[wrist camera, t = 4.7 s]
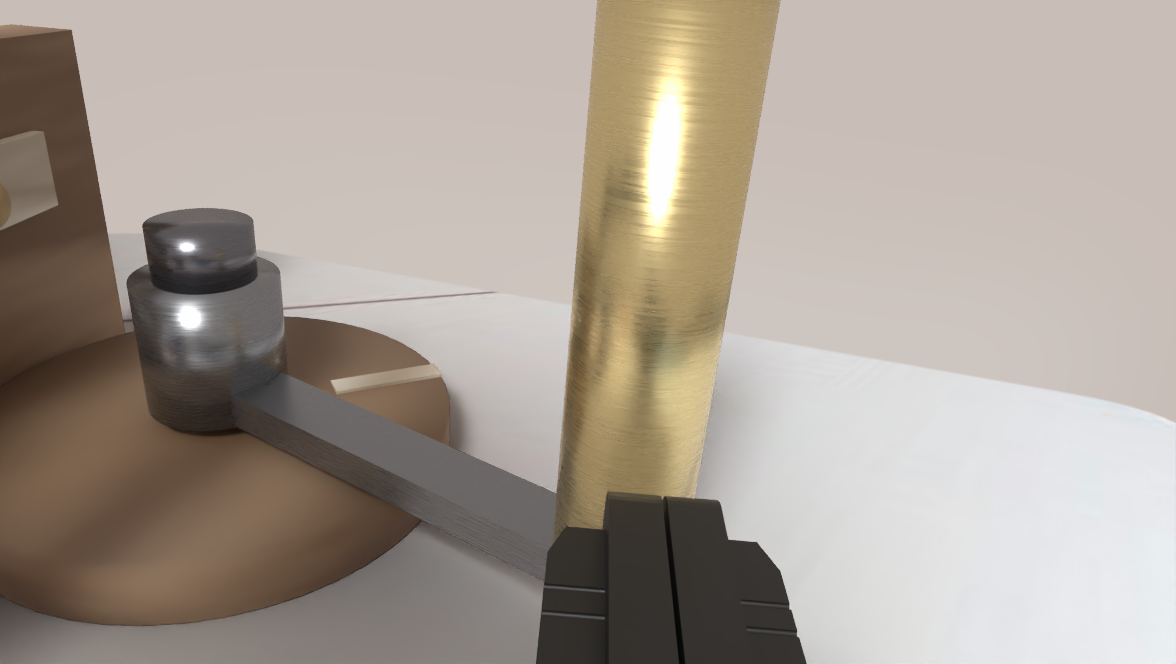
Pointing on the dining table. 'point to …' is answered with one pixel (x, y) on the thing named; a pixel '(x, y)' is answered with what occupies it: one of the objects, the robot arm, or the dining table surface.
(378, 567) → the dining table surface
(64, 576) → the stand
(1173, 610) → the dining table surface
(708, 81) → the crank handle
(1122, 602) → the dining table surface
